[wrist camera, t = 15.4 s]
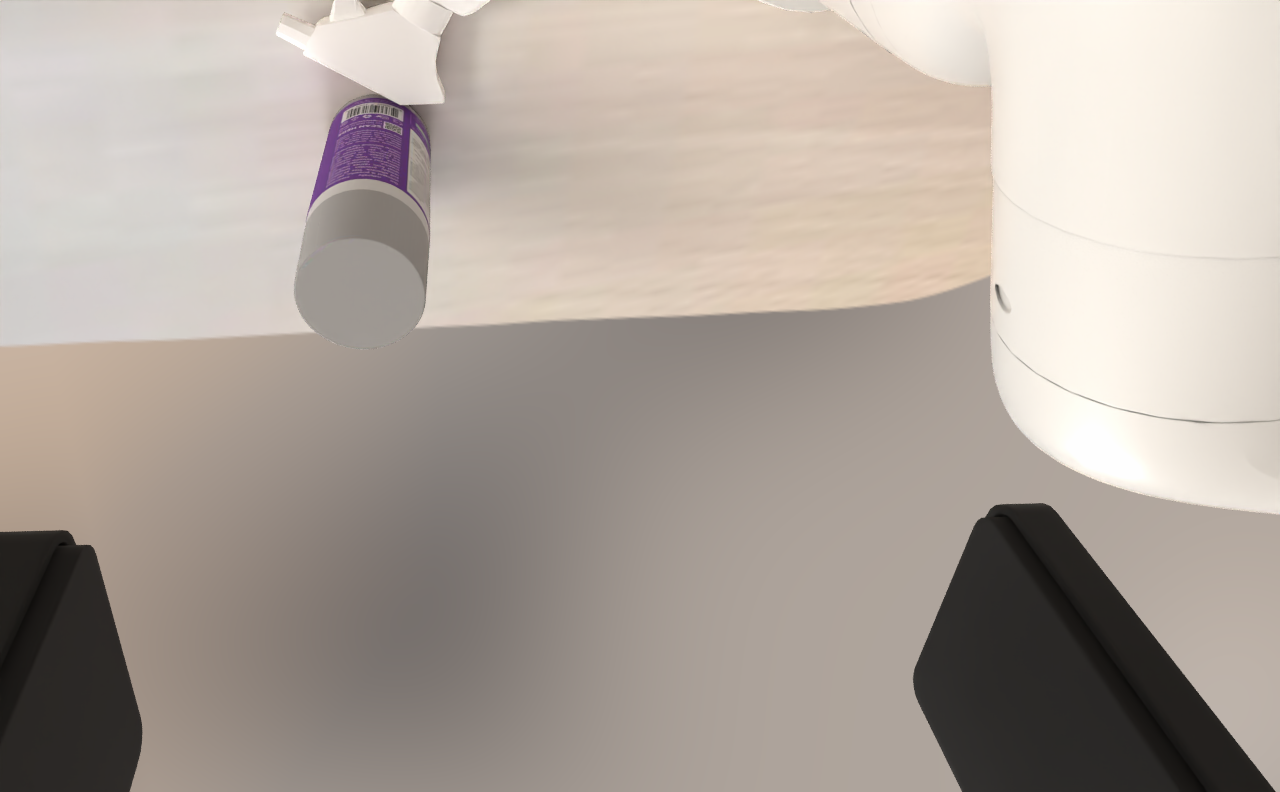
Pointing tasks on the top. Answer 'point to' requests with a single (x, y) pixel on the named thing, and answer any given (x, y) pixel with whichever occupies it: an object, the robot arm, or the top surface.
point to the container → (368, 227)
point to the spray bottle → (381, 44)
